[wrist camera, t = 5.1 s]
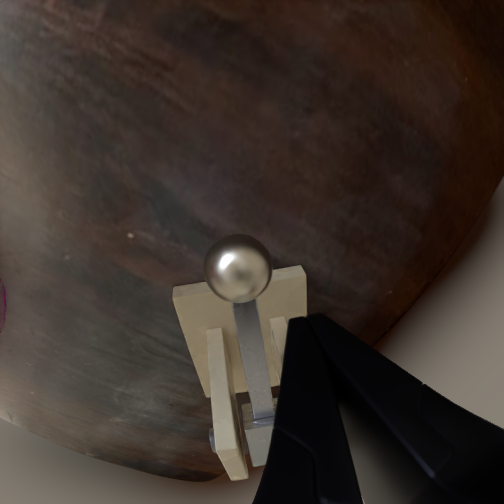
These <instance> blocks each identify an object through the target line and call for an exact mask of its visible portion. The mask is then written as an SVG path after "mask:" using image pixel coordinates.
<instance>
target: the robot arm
mask: <svg viewBox="0 0 504 504" xmlns="http://www.w3.org/2000/svg"><path fill="white" fill-rule="evenodd" d="M361 495H362V497H363V500H364V502H365V504H504V429H503V428H500V427H499V426H497V425H494V424H493V423H491V422H489V421H487V420H485V419H483V418H481V417H479V416H477V415H475V414H473V413H471V412H469V411H468V410H466V409H464V408H462V407H460V406H458V405H457V404H455V403H453V402H452V401H450V400H449V399H447V398H445V397H444V396H442V395H441V394H439V393H438V392H436V391H434V390H433V389H432V388H430V387H428V386H427V385H426V384H423V385H422V382H421V381H420V380H418V379H417V378H415V377H414V376H412V375H411V374H409V373H408V372H407V371H405V370H404V369H402V368H401V367H399V366H398V365H396V364H395V363H393V362H392V361H390V360H389V359H387V358H386V357H385V356H383V355H382V354H381V353H379V352H378V351H376V350H375V349H373V348H372V347H370V346H369V345H368V344H366V343H365V342H363V341H362V340H360V339H359V338H357V337H356V336H355V335H353V334H352V333H350V332H349V331H347V330H346V329H345V328H343V327H342V326H340V325H339V324H337V323H336V322H334V321H333V320H332V319H330V318H329V317H327V316H326V315H324V314H323V313H320V312H318V313H314V314H309V315H306V316H305V317H304V316H299V317H294V318H290V319H289V320H288V326H287V333H286V341H285V349H284V356H283V363H282V371H281V378H280V385H279V391H278V398H277V405H276V411H275V418H274V424H273V430H272V435H271V441H270V447H269V451H268V456H267V460H266V465H265V468H264V471H263V475H262V478H261V481H260V485H259V487H258V490H257V492H256V495H255V498H254V500H253V503H252V504H363V501H362V497H361Z"/></svg>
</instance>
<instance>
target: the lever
mask: <svg viewBox="0 0 504 504" xmlns="http://www.w3.org/2000/svg"><path fill="white" fill-rule="evenodd" d="M272 273H273V264H272V259H271V256H270V254H269V252H268V250H267V249H266V247H265V246H264V245H263V244H262V243H261V242H260V241H258V240H257V239H255V238H253V237H251V236H248V235H244V234H232V235H228V236H225V237H223V238H221V239H219V240H218V241H217V242H215V243H214V244H213V245H212V246H211V248H210V249H209V251H208V252H207V254H206V257H205V260H204V277H205V280H206V283H207V285H208V286H209V288H210V289H211V291H212V292H213V293H214V294H215V295H216V296H218V297H219V298H221V299H222V300H225V301H227V302H231V305H232V310H233V316H234V321H235V327H236V332H237V337H238V343H239V348H240V353H241V358H242V363H243V368H244V374H245V379H246V384H247V389H248V394H249V398H250V403H247V404H241V409H242V417H243V425H244V432H245V436H246V440H247V444H248V448H249V453H250V456H251V460H252V465H253V466H261V465H266V460H267V456H268V451H269V447H270V441H271V435H272V430H273V424H274V418H275V411H276V405H277V398H274V399H273V397H272V391H271V385H270V379H269V373H268V367H267V360H266V354H265V348H264V342H263V336H262V330H261V324H260V317H259V311H258V305H257V299H256V298H257V297H259V296H260V295H261V294H262V293H263V292H264V291H265V290H266V289H267V287H268V285H269V283H270V281H271V278H272Z"/></svg>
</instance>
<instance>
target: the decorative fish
mask: <svg viewBox="0 0 504 504" xmlns="http://www.w3.org/2000/svg"><path fill="white" fill-rule="evenodd" d="M5 311H6V300H5V289H4V287H3V284H2V282H1V279H0V333H1V331H2V328H3V325H4V321H5Z"/></svg>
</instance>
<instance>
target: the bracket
mask: <svg viewBox="0 0 504 504" xmlns="http://www.w3.org/2000/svg"><path fill="white" fill-rule="evenodd" d="M172 299H173V302H174V306H175V309H176V312H177V315H178V318H179V321H180V324H181V327H182V330H183V333H184V336H185V339H186V342H187V345H188V348H189V351H190V354H191V357H192V360H193V363H194V365H195V368H196V371H197V374H198V376H199V379H200V382H201V385H202V387H203V390H204V393H205V395H206V397H211V405H212V417H213V428H211V429H209V438H210V444H211V448H212V450H213V452H217V454H218V456H219V458H220V460H221V462H222V464H223V466H224V467H225V469H226V471H227V473H228V475H229V477H230V479H231V480H232V481H233V480H240V479H247V478H248V477H249V476H248V471H247V465H246V459H245V452H244V446H243V440H242V434H241V427H240V421H239V414H238V408H237V401H236V394H235V393H240V392H246V391H248V389H247V384H246V379H245V374H244V368H243V363H242V358H241V353H240V348H239V343H238V337H237V332H236V327H235V321H234V316H233V310H232V305H231V302H227V301H225V300H222V299H221V298H219V297H218V296H216V295H215V294H214V293H213V292H212V291H211V289H210V288H209V286H208V285H207V283H206V282H200V283H194V284H187V285H181V286H175V287H173V295H172ZM256 299H257V305H258V311H259V317H260V324H261V330H262V336H263V342H264V348H265V354H266V360H267V367H268V373H269V379H270V385H271V387H273V386H278V385H280V378H281V371H282V363H283V356H284V349H285V341H286V333H287V326H288V320H289V319H290V318H294V317H299V316H304V317H305V316H306V315H307V288H306V274H305V272H304V270H303V268H302V266H301V265H298V266H292V267H287V268H281V269H276V270H273V273H272V278H271V281H270V283H269V285H268V287H267V289H266V290H265V291H264V292H263V293H262V294H261V295H260V296H259V297H257V298H256Z"/></svg>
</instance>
